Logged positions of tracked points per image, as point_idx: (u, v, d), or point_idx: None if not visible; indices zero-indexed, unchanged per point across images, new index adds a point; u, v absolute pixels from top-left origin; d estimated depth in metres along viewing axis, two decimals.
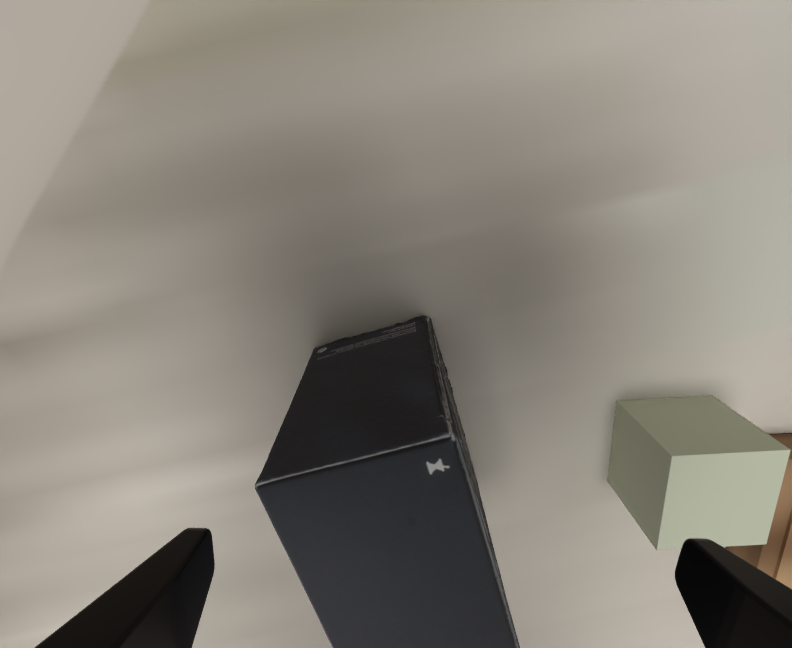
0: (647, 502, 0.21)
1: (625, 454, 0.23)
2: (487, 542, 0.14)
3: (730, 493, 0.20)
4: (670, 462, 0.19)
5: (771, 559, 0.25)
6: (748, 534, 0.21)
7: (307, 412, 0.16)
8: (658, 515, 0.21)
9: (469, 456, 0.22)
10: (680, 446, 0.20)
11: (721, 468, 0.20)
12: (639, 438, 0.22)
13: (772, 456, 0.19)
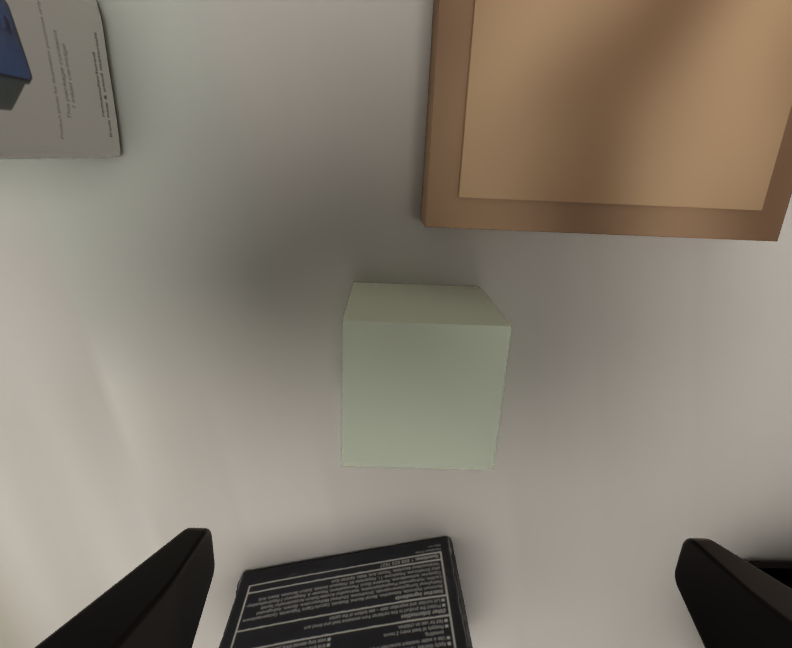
0: None
1: None
2: None
3: (409, 389, 0.14)
4: (351, 466, 0.15)
5: (615, 215, 0.15)
6: (487, 354, 0.14)
7: None
8: (439, 464, 0.15)
9: (368, 599, 0.20)
10: None
11: (366, 406, 0.14)
12: None
13: (352, 343, 0.14)
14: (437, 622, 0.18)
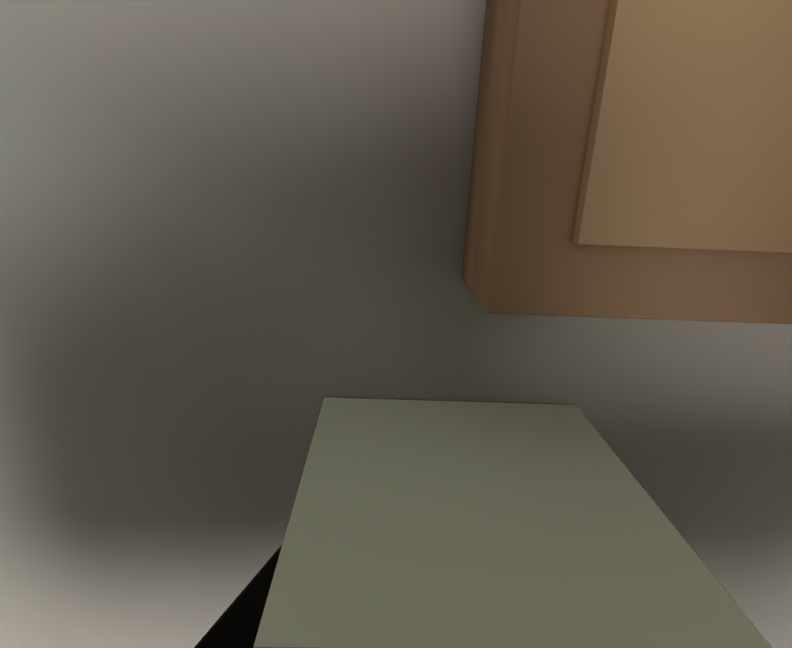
0: None
1: None
2: None
3: None
4: None
5: None
6: None
7: None
8: None
9: None
10: None
11: None
12: None
13: None
14: None
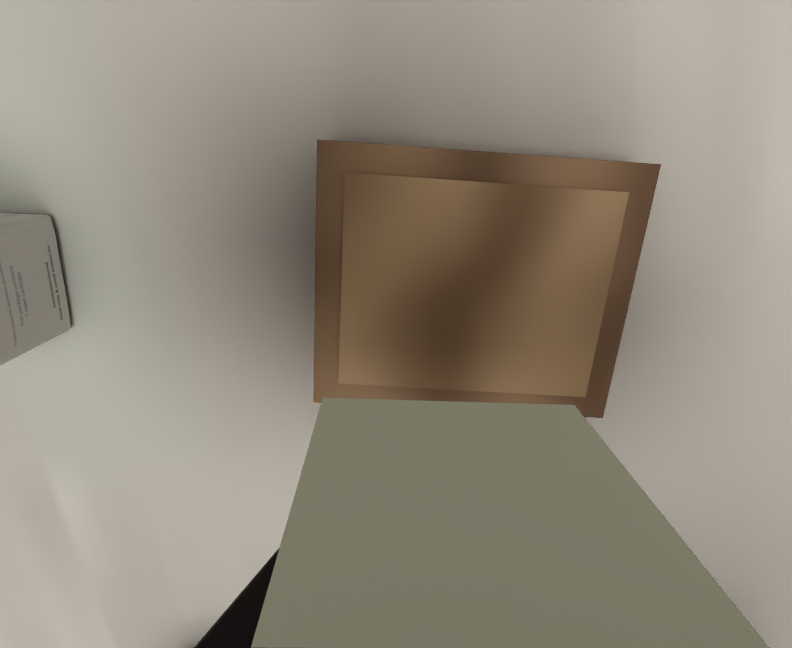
0: None
1: None
2: None
3: None
4: None
5: (468, 396, 0.19)
6: None
7: None
8: None
9: None
10: None
11: None
12: None
13: None
14: None
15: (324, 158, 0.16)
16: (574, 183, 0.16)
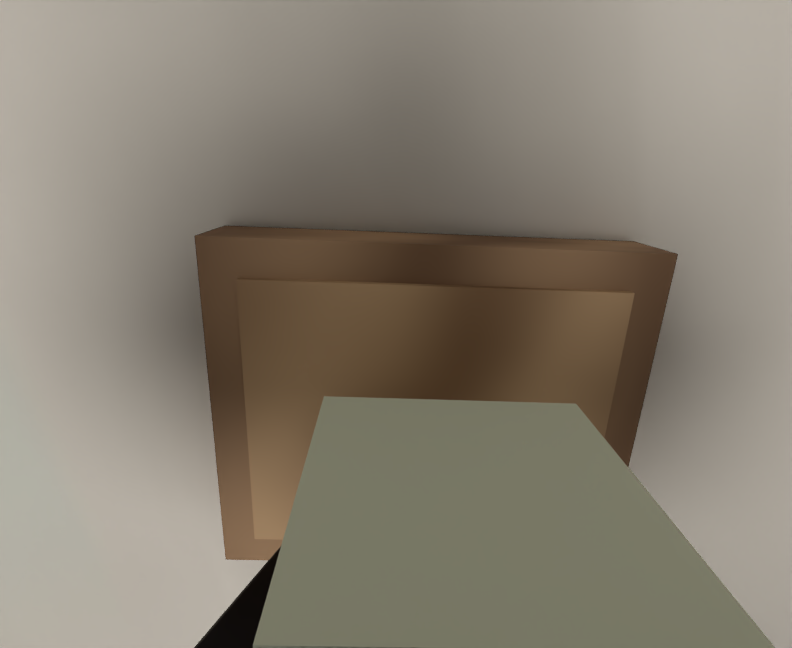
0: None
1: None
2: None
3: None
4: None
5: None
6: None
7: None
8: None
9: None
10: None
11: None
12: None
13: None
14: None
15: (207, 260, 0.11)
16: (557, 282, 0.12)
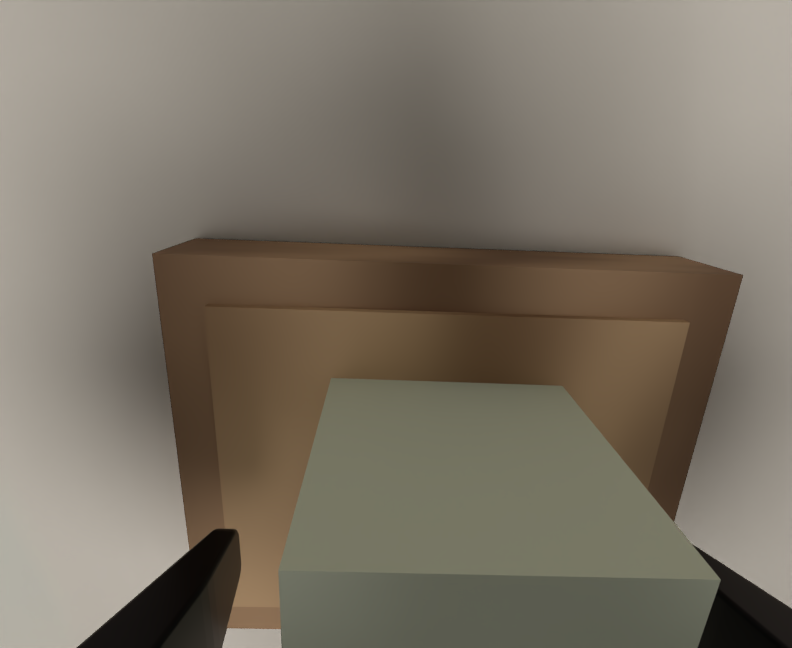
0: None
1: None
2: None
3: None
4: None
5: None
6: (649, 638, 0.06)
7: None
8: None
9: None
10: None
11: None
12: None
13: (306, 619, 0.05)
14: None
15: (169, 283, 0.09)
16: (595, 309, 0.10)
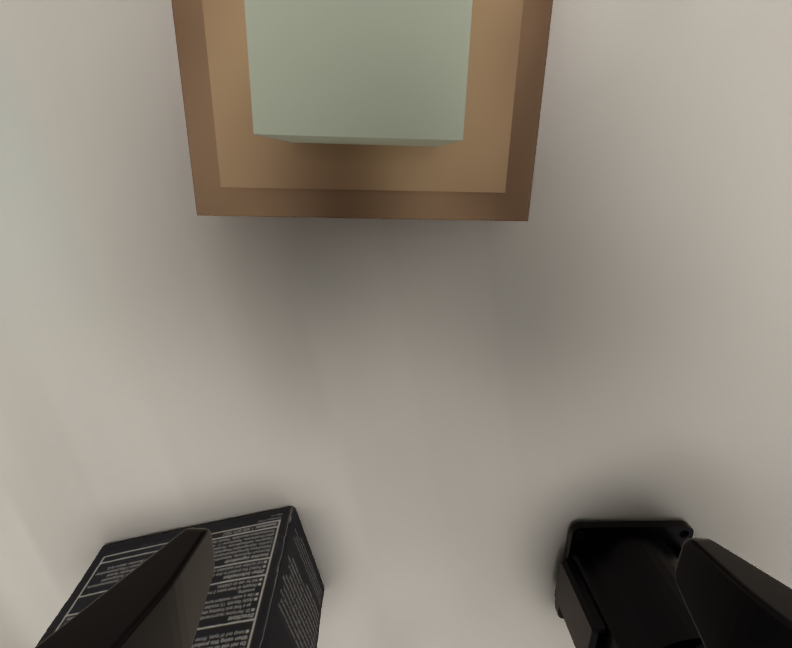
0: (392, 140, 0.12)
1: (357, 142, 0.14)
2: None
3: None
4: (267, 134, 0.11)
5: (372, 200, 0.17)
6: None
7: None
8: (390, 138, 0.11)
9: None
10: None
11: (280, 27, 0.10)
12: (300, 139, 0.13)
13: None
14: (253, 581, 0.20)
15: None
16: None
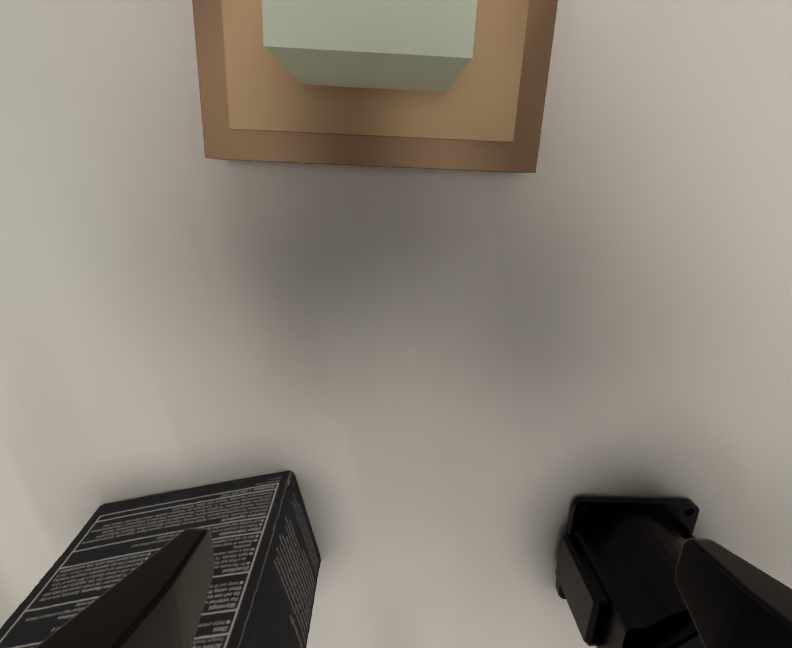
0: (401, 64, 0.12)
1: (367, 79, 0.14)
2: None
3: None
4: (276, 47, 0.11)
5: (380, 146, 0.17)
6: None
7: None
8: (400, 56, 0.11)
9: (197, 521, 0.21)
10: None
11: None
12: (310, 69, 0.13)
13: None
14: (249, 537, 0.19)
15: None
16: None
